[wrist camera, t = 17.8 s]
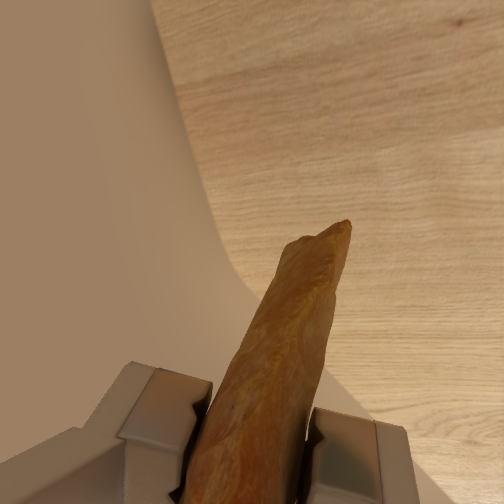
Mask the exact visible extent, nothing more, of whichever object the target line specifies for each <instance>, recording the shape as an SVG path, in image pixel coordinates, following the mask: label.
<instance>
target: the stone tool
mask: <svg viewBox="0 0 504 504" xmlns="http://www.w3.org/2000/svg"><path fill="white" fill-rule="evenodd" d="M351 231H352V225H351V222H350V221H349V220H348V219H346V220H344V221H342V222H337V223H335V224H333V225H331V226H330V227H329V228H327V229H326V230H324V231H323V232H321V233H320V234H318V235H317V236H303V237H301V238H299V239H298V240H296V241H293V242H291V243H289V244H287V245H286V247H285V248H284V250H283V252H282V255H281V258H280V261H279V264H278V267H277V271H276V274H275V277H274V279H273V280H272V282H271V284H270V285H269V288H268V290H267V292H266V294H265V296H264V298H263V300H262V302H261V304H260V306H259V308H258V309H257V311H256V313H255V316H254V318H253V320H252V322H251V324H250V326H249V328H248V330H247V333H246V335H245V337H244V339H243V341H242V343H241V346H240V349H239V350H238V352H237V353H236V355H235V356H234V357H233V359H232V361H231V363H230V365H229V367H228V370H227V372H226V374H225V377H224V379H223V381H222V383H221V386H220V388H219V390H218V392H217V394H216V396H215V398H214V400H213V402H212V404H211V406H210V408H209V410H208V412H207V414H206V416H205V418H204V420H203V422H202V425H201V428H200V430H199V433H198V436H197V439H196V442H195V445H194V448H193V451H192V453H191V456H190V459H189V462H188V465H187V473H186V494H185V499H184V504H295V500H296V494H297V488H298V481H299V474H300V468H301V462H302V456H303V453H304V447H305V438H306V431H307V425H308V421H309V416H310V411H311V407H312V403H313V399H314V396H315V393H316V389H317V387H318V384H319V380H320V377H321V373H322V370H323V366H324V361H325V352H326V346H327V341H328V336H329V333H330V330H331V326H332V323H333V317H334V310H335V304H336V295H335V291H336V288H337V285H338V282H339V280H340V277H341V274H342V271H343V269H344V265H345V261H346V256H347V252H348V248H349V244H350V238H351Z"/></svg>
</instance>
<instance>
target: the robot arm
mask: <svg viewBox="0 0 504 504" xmlns="http://www.w3.org/2000/svg"><path fill="white" fill-rule="evenodd" d="M212 389H213V383H212V382H210V381H206V380H203V379H199V378H195V377H192V376H187V375H184V374H180V373H176V372H173V371H169V370H165V369H162V368H156V367H152V366H148V365H144V364H141V363H137V362H134V361H131V362H130V363H128V364H127V365H126V366H124V368H123V369H122V371H121V372H120V374H119V375H118V377H117V378H116V380H115V381H114V382H113V384H112V385H111V387H110V388H109V390H108V391H107V393H106V394H105V396H104V397H103V399H102V400H101V402H100V403H99V404H98V406H97V407H96V409H95V410H94V412H93V413H92V415H91V416H90V418H89V419H88V421H87V422H86V423H85V425H84V426H83V428H82V429H80V428H76V427H72V428H70V429H68V430H66V431H64V432H62V433H60V434H58V435H56V436H54V437H52V438H50V439H48V440H46V441H44V442H42V443H40V444H38V445H36V446H34V447H32V448H30V449H29V450H27V451H25V452H22V453H20V454H18V455H16V456H15V457H13V458H11V459H9V460H7V461H5V462H3V463H1V464H0V504H184V499H185V494H186V473H187V465H188V462H189V459H190V456H191V453H192V451H193V448H194V445H195V442H196V439H197V436H198V433H199V430H200V428H201V425H202V422H203V420H204V418H205V416H206V413H207V410H208V407H209V404H210V401H211V397H212ZM295 503H296V504H420V500H419V495H418V490H417V484H416V479H415V474H414V468H413V463H412V457H411V452H410V447H409V441H408V436H407V432H406V430H405V429H404V427H402V426H397V425H393V424H389V423H384V422H380V421H375V420H373V421H371V420H369V419H365V418H360V417H356V416H352V415H348V414H343V413H339V412H335V411H331V410H326V409H322V408H317V407H314V409H313V412H312V415H311V418H310V421H309V428H308V439H307V441H305V447H304V453H303V456H302V462H301V468H300V474H299V481H298V488H297V494H296V500H295Z"/></svg>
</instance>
